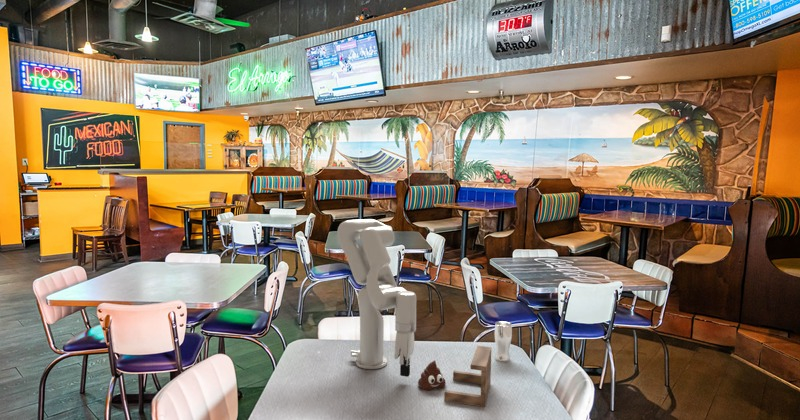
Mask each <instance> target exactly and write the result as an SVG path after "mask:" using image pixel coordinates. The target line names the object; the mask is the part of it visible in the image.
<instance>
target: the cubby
mask: <svg viewBox="0 0 800 420" xmlns="http://www.w3.org/2000/svg"><path fill="white" fill-rule="evenodd" d="M470 370H475V371H480V373H475V372H467V371H460V370H453V372H452V375H453V376H452V380H453V381H458V382H466V383H470V384H479V385H480V394H474V393H467V392H462V391H454V390H449V389H448V390H447V389H445V390H444V394H443V395H444V396H443V398H444V401H446V402H450V403H456V404H462V405H463V404H464V405H470V406H477V407H482V408H486V406H487V405H486V404H487V399H488V397H489V396H488V395H489V393H490V392H489V391H490V387H491V379H492V378H491V375H492V347H490V346H482V345H477V346H476V349H475V351H474V354H473V356H472V360H471V363H470Z"/></svg>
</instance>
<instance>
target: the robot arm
mask: <svg viewBox="0 0 800 420" xmlns="http://www.w3.org/2000/svg"><path fill="white" fill-rule="evenodd" d="M336 233H337V240H338V241H337V242H338V244H339V246H340V248H341V250H342V252H343V253H344V255H345V257H346V259H347V262H348V265H349V267H350V271H351V274H352V277H353V279H354V281H355V283H357V284H358V285H362V286H363V285H364V287H362V288H360V289H359V291H358V293H357V302H358V303H357V305H358V308H359V350H355V349H351V350H350V355H351V357H352V358H356V360H355V365H356V366H357V367H359V368H360V369H365V370H377V369H381V368H384V367H386V365H387V364H388V359H387V358H386V356H384V339H385V338H384V331H385V330H384V328H385V327H384V325H385V323H384V322H385V321H384V317H383V314H381V312H380V311H386V310H390V309H395V319H394V321H395V325H394V327H395V329H394V330H395V331H396V333H395V344H394V359H395V360H398V358H399V361H398V363H399V367H400V368H399V370H400V371H399V376H401V377H405V378H407V377H410V375H411V356H412V355H413V353H414V351H415V332H416V331H417V294H416V293H415V292H414V291H409V290H407V289H405V288H404V287H402V286H398V285H397V282H396V280H395V277H394V274H393V272H392V269H391V267H390V266H389V265H390V264H391V262H392V261H391V257H390V255H389V252H388V250H387V247H388V248H389V247H391V246H392V245H394V242H395V239H396V237H395V234H394V231H393V230H392V229H391V227H390V226H388V225H387V224H384V223H383V222H380V221H379V220H376V219H373V218H364V219H363V218H362V219H359V218H358V219H348V220H344V221H342V222H341V223H340V224H339V226H338V227H337V232H336ZM358 240H360V243H359V242H358ZM365 285H366V286H365Z"/></svg>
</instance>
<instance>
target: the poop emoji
mask: <svg viewBox="0 0 800 420" xmlns="http://www.w3.org/2000/svg"><path fill="white" fill-rule="evenodd" d="M443 376H444V375H443V374H442V373H441V369H440V368H439V367H438V366H437V363H436V360H433V361H431V362H430V363H428V364H427V366H426V368H424V370H423V371H422V372H421V374H420V377H419V378H418V382H417V384H418V387H419V388H420V389H421V390H424V391H434V390H442V389H444V388H445V386H446V379H445V378H444V377H443Z"/></svg>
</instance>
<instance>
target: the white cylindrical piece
mask: <svg viewBox="0 0 800 420" xmlns="http://www.w3.org/2000/svg"><path fill="white" fill-rule="evenodd" d="M512 334H513V327H512V323H511V322H508V321H503V320H501V321H495V325H494V343H495V356H494V359H495V360H496V361H498V362H503V363H507V362H509V361H511V359H510V358H511V357H510V348H511V343H512V336H513V335H512Z"/></svg>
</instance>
